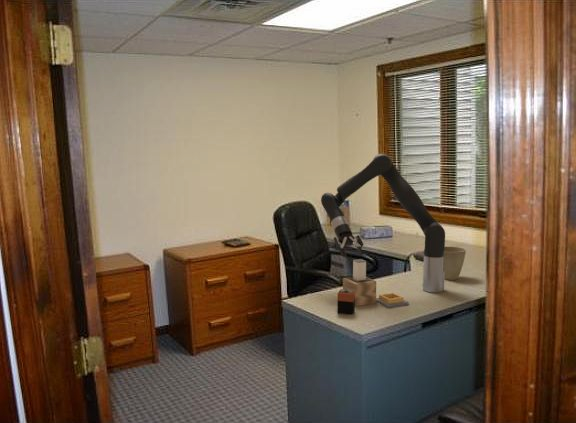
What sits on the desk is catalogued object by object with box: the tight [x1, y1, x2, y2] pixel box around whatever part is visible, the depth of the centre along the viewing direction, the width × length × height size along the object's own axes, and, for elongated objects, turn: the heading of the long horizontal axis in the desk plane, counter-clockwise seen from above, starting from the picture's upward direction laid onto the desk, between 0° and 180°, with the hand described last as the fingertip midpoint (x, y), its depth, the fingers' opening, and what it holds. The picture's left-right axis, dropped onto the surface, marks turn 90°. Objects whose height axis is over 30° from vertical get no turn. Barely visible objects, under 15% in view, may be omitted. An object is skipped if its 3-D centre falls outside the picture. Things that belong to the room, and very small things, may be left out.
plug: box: [352, 258, 367, 281], centre depth 222 cm, size 4×4×9 cm
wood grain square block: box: [342, 276, 377, 307], centre depth 223 cm, size 11×11×11 cm
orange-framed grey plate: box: [376, 292, 410, 309], centre depth 220 cm, size 11×11×3 cm
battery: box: [336, 288, 356, 316], centre depth 207 cm, size 4×7×10 cm, turn 71°
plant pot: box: [443, 246, 467, 281], centre depth 260 cm, size 15×15×16 cm
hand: (353, 255), depth 226 cm, fingers open, 8 cm apart
